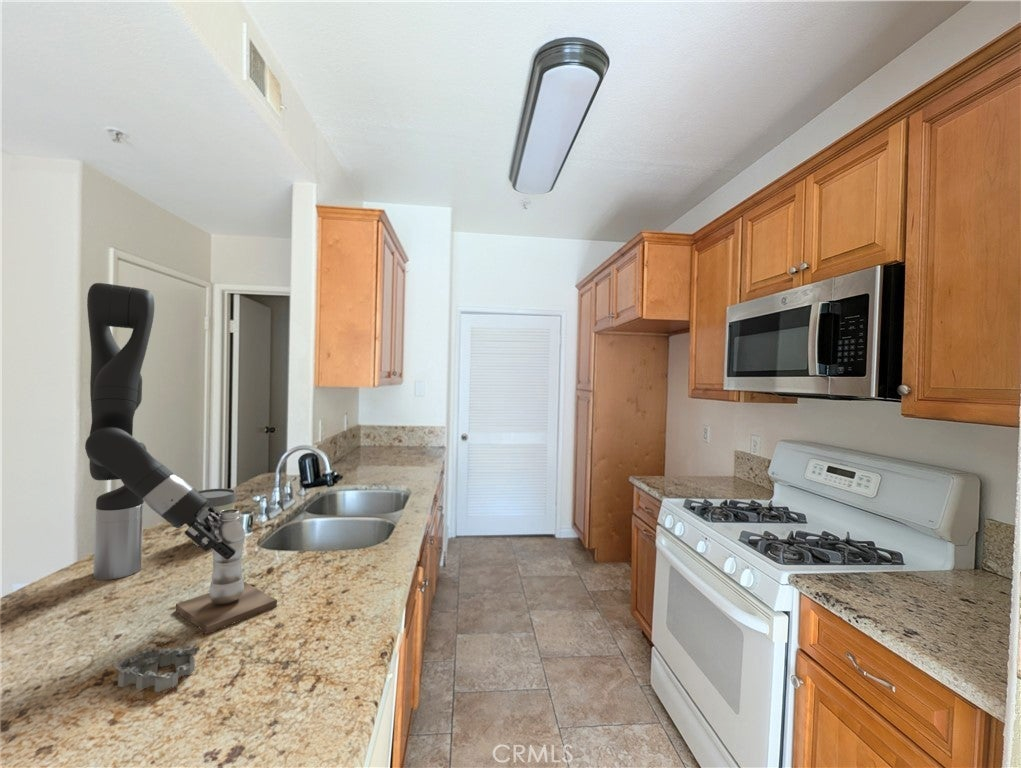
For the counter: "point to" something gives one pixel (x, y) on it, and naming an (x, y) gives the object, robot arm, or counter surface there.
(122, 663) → the metal cookie cutter
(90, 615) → the counter surface
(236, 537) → the plastic bottle
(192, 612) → the walnut board
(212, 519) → the robot arm
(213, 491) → the reusable coffee cup
